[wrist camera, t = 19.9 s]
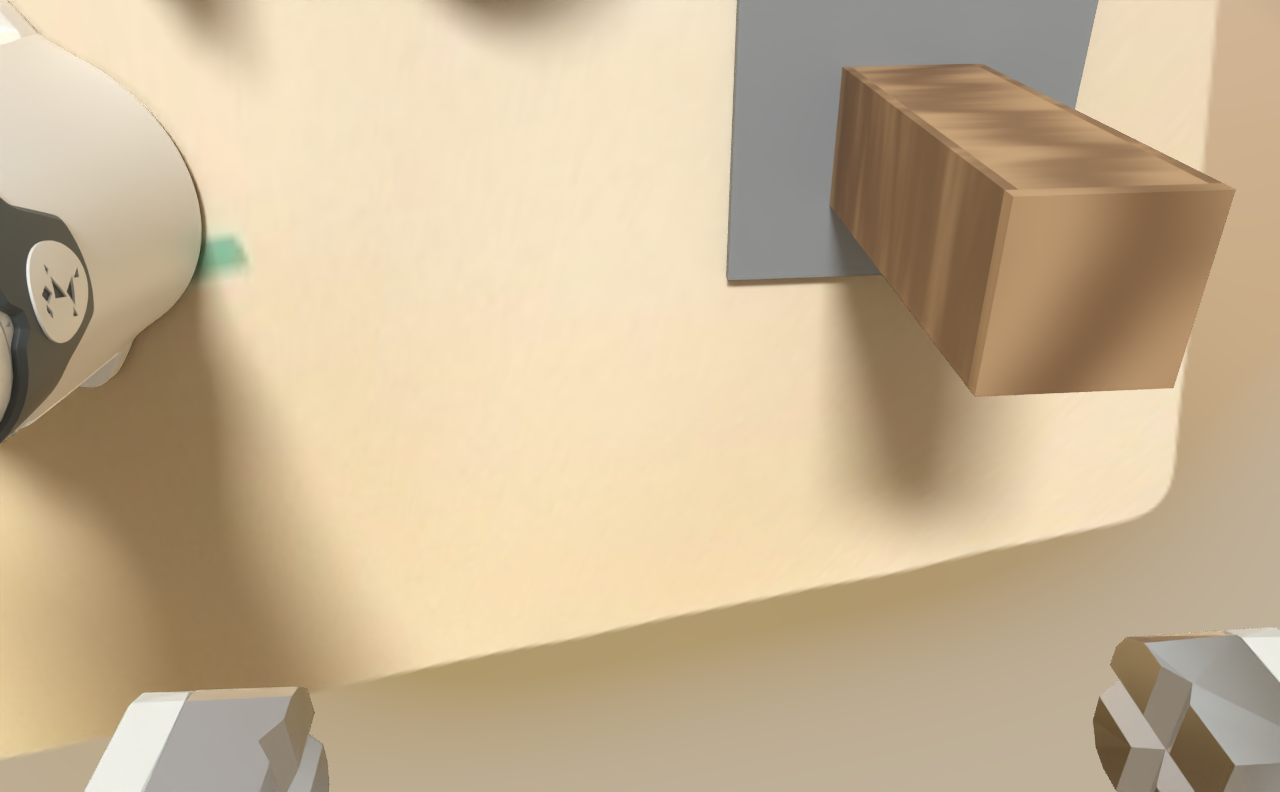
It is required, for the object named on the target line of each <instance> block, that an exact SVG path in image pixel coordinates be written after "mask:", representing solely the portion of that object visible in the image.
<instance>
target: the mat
mask: <svg viewBox="0 0 1280 792" xmlns="http://www.w3.org/2000/svg"><path fill="white" fill-rule="evenodd" d="M1097 4H1098V0H737V16H736V41H735V67H734V92H733V118H732V143H731V169H730V194H729V220H728V245H727V271H726V276H727V279H728V280H751V279H779V278H807V277H835V276H863V275H882V274H881V272H880V271H879V270H878V268H877V267H876V266H875V264H874V263H873V262H872V260H871V259H870V258H869V256H868V255H867V254H866V252H865V251H864V250H863V249H862V247H861V246H860V245H859V243H858V242H857V241H856V239H855V238H854V237H853V235H852V234H851V233H850V231H849V230H848V229H847V227H846V226H845V225H844V223H843V222H842V221H841V219H840V218H839V217H838V216H837V214H836V213H835V212H834V210H833V209H832V208H831V206H830V205H829V204H830V194H831V183H832V172H833V162H834V151H835V141H836V130H837V119H838V109H839V98H840V87H841V77H842V67H857V66H899V65H940V64H984V65H986V66H988V67H990V68H992V69H994V70H996V71H998V72H1000V73H1002V74H1004V75H1006V76H1008V77H1010V78H1012V79H1014V80H1016V81H1018V82H1020V83H1022V84H1024V85H1026V86H1028V87H1030V88H1032V89H1034V90H1036V91H1038V92H1040V93H1042V94H1044V95H1046V96H1048V97H1050V98H1052V99H1054V100H1056V101H1058V102H1060V103H1062V104H1064V105H1066V106H1068V107H1070V108H1072V109H1074V110H1075V105H1076V101H1077V96H1078V92H1079V87H1080V82H1081V78H1082V73H1083V69H1084V64H1085V59H1086V55H1087V50H1088V46H1089V41H1090V36H1091V32H1092V27H1093V23H1094V18H1095V14H1096V9H1097Z"/></svg>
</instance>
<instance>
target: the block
mask: <svg viewBox="0 0 1280 792" xmlns="http://www.w3.org/2000/svg"><path fill="white" fill-rule="evenodd" d="M1235 190H1236V189H1234V188H1232V187H1230V186H1228V185H1225V184H1223V183H1221V182H1219V181H1217V180H1215V179H1213V178H1211V177H1209V176H1207V175H1205V174H1203V173H1201V172H1199V171H1197V170H1195V169H1193V168H1191V167H1189V166H1187V165H1185V164H1183V163H1181V162H1179V161H1177V160H1175V159H1173V158H1171V157H1169V156H1167V155H1165V154H1163V153H1161V152H1159V151H1157V150H1155V149H1153V148H1151V147H1149V146H1147V145H1145V144H1143V143H1141V142H1139V141H1137V140H1135V139H1133V138H1131V137H1129V136H1127V135H1125V134H1123V133H1121V132H1119V131H1117V130H1115V129H1113V128H1111V127H1109V126H1107V125H1105V124H1103V123H1101V122H1099V121H1097V120H1095V119H1093V118H1091V117H1089V116H1087V115H1085V114H1083V113H1081V112H1079V111H1076V110H1074V109H1072V108H1070V107H1068V106H1066V105H1064V104H1062V103H1060V102H1058V101H1056V100H1054V99H1052V98H1050V97H1048V96H1046V95H1044V94H1042V93H1040V92H1038V91H1036V90H1034V89H1032V88H1030V87H1028V86H1026V85H1024V84H1022V83H1020V82H1018V81H1016V80H1014V79H1012V78H1010V77H1008V76H1006V75H1004V74H1002V73H1000V72H998V71H996V70H994V69H992V68H990V67H988V66H986V65H984V64H940V65H899V66H857V67H842V77H841V87H840V98H839V109H838V119H837V130H836V141H835V151H834V162H833V172H832V183H831V194H830V204H829V205H830V206H831V208H832V209H833V210H834V212H835V213H836V214H837V216H838V217H839V218H840V219H841V221H842V222H843V223H844V225H845V226H846V227H847V229H848V230H849V231H850V233H851V234H852V235H853V237H854V238H855V239H856V241H857V242H858V243H859V245H860V246H861V247H862V249H863V250H864V251H865V252H866V254H867V255H868V256H869V258H870V259H871V260H872V262H873V263H874V264H875V266H876V267H877V268H878V270H879V271H880V272H881V274H882V275H883V276H884V278H885V279H886V280H887V282H888V283H889V284H890V286H891V287H892V288H893V289H894V291H895V292H896V293H897V295H898V296H899V297H900V299H901V300H902V301H903V303H904V304H905V305H906V307H907V308H908V309H909V311H910V312H911V313H912V315H913V316H914V317H915V319H916V320H917V321H918V323H919V324H920V325H921V326H922V328H923V329H924V330H925V332H926V333H927V334H928V336H929V337H930V338H931V340H932V341H933V342H934V344H935V345H936V346H937V348H938V349H939V350H940V352H941V353H942V354H943V356H944V357H945V358H946V359H947V361H948V362H949V363H950V365H951V366H952V367H953V369H954V370H955V371H956V373H957V374H958V375H959V377H960V378H961V379H962V381H963V382H964V383H965V385H966V386H967V387H968V389H969V390H970V391H971V393H972V394H973V395H974V396H975V397H977V396H1000V395H1023V394H1046V393H1069V392H1092V391H1115V390H1138V389H1161V388H1174V384H1175V381H1176V378H1177V375H1178V372H1179V368H1180V365H1181V362H1182V359H1183V356H1184V353H1185V349H1186V346H1187V343H1188V340H1189V337H1190V333H1191V330H1192V327H1193V324H1194V321H1195V318H1196V314H1197V311H1198V308H1199V305H1200V302H1201V298H1202V295H1203V292H1204V289H1205V286H1206V283H1207V279H1208V276H1209V273H1210V270H1211V267H1212V264H1213V260H1214V257H1215V254H1216V251H1217V248H1218V245H1219V241H1220V238H1221V235H1222V232H1223V229H1224V225H1225V222H1226V219H1227V216H1228V213H1229V209H1230V206H1231V203H1232V200H1233V197H1234V193H1235Z"/></svg>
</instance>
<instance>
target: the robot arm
mask: <svg viewBox="0 0 1280 792" xmlns="http://www.w3.org/2000/svg"><path fill="white" fill-rule="evenodd" d="M201 231H202V228H201V215H200V208H199V203H198V198H197V194H196V191H195V188H194V184H193V182H192V179H191V176H190V174H189V171H188V169H187V167H186V165H185V162H184V161H183V159H182V157H181V155H180V153H179V151H178V150H177V148H176V146H175V145H174V143H173V141H172V140H171V138H170V137H169V136H168V134H167V133H166V131H165V130H164V129H163V127H162V126H161V125H160V124H159V122H158V121H157V120H156V119H155V117H154V116H153V115H152V114H151V113H150V112H149V111H148V110H147V109H146V108H145V107H144V106H143V105H142V104H141V103H140V102H139V101H138V100H137V99H136V98H135V97H134V96H133V95H132V94H131V93H130V92H128V91H127V90H126V89H125V88H124V87H122V86H121V85H120V84H119V83H117V82H116V81H115V80H114V79H112V78H111V77H109V76H108V75H106V74H105V73H103V72H102V71H100V70H99V69H97V68H96V67H94V66H92V65H91V64H89V63H87V62H85V61H83V60H82V59H80V58H78V57H76V56H74V55H72V54H71V53H69V52H67V51H65V50H63V49H61V48H60V47H58V46H56V45H55V44H53V43H51V42H50V41H48V40H47V39H46V38H44V37H43V36H41V35H40V34H39V33H38V32H37V31H36V30H35V29H34V28H33V27H32V26H31V25H30V24H29V23H28V22H27V21H26V20H25V19H24V17H23V16H22V15H21V14H20V13H19V12H18V11H17V10H16V9H15V8H14V7H13V6H12V5H11V4H10V3H9V2H8V1H7V0H0V443H4V442H5V441H6V439H7V438H8V437H10V436H11V435H12V436H13V435H14V434H16V433H17V432H18V431H19V430H20V429H21V428H24V427H27V426H29V425H30V424H32V423H33V422H35V421H36V420H37V419H39V418H40V417H41V416H42V415H44V414H45V413H46V412H47V411H49V410H50V409H51V408H52V407H54V406H55V405H56V404H57V403H59V402H60V401H61V400H62V399H64V398H65V397H66V396H67V395H69V394H70V393H71V392H72V391H74V390H75V389H76V388H77V387H98V386H101V385H103V384H104V383H106V382H107V381H108V380H110V379H111V378H112V377H113V376H115V375H116V374H117V372H118V371H119V370H120V368H121V367H122V365H123V363H124V361H125V359H126V357H127V355H128V352H129V350H130V347H131V345H132V342H133V340H134V339H135V337H136V336H137V335H138V334H139V333H140V332H141V331H143V330H144V329H145V328H146V327H147V326H149V325H150V324H152V323H153V322H154V321H156V320H157V319H158V318H160V317H161V316H162V315H164V314H165V313H166V312H167V311H168V310H169V309H170V308H171V307H172V306H173V305H174V304H175V303H176V302H177V301H178V299H179V298H180V297H181V296H182V294H183V293H184V291H185V290H186V288H187V286H188V284H189V282H190V280H191V278H192V276H193V274H194V271H195V269H196V265H197V262H198V258H199V253H200V247H201ZM1110 666H1111V667H1112V669H1113V671H1114V672H1115V674H1116V675H1117V676H1118V678H1119V680H1118V681H1117V682H1116V683H1115V684H1113V685H1112V686H1111V687H1110V688H1109V689H1108V690H1106V691H1105V692H1104V693H1103V694H1102V695H1100V696H1099V700H1098V704H1097V707H1096V711H1095V716H1094V718H1093V725H1094V734H1095V745H1096V749H1097V752H1098V755H1099V758H1100V760H1101V763H1102V766H1103V769H1104V770H1105V772H1106V774H1107V776H1108V777H1109V779H1110V781H1111V783H1112V784H1113V786H1114V788H1115V789H1116V791H1117V792H1280V630H1279V629H1277V628H1275V627H1269V628H1255V629H1239V630H1226V631H1222V632H1219V631H1206V632H1191V633H1178V634H1163V635H1148V636H1135V637H1126V638H1125V639H1124V640H1123V641H1122V642H1121V643H1120V644H1119V645H1117V647H1116V649H1115V652H1114V655H1113V657H1112V660H1111V663H1110ZM314 713H315V712H314V709H313V706H312V702H311V699H310V696H309V693H308V690H307V689H306V688H303V687H299V686H296V687H266V688H237V689H207V690H196V691H175V692H146V693H142V694H141V695H140V696H139V697H138V698H137V699H135V700H134V701H133V702H132V703H131V704H130V705H129V706H128V708H127V710H126V712H125V714H124V715H123V717H122V719H121V721H120V723H119V725H118V727H117V729H116V731H115V733H114V735H113V736H112V738H111V740H110V742H109V744H108V746H107V748H106V750H105V752H104V754H103V756H102V758H101V760H100V761H99V763H98V765H97V767H96V769H95V771H94V773H93V775H92V777H91V779H90V781H89V783H88V784H87V786H86V788H85V790H84V792H328V791H329V777H328V765H327V759H326V755H325V751H324V747H323V744H322V743H320V742H319V741H318V740H317V739H315V738H314V737H312V736H311V735H310V734H309V731H310V727H311V723H312V720H313V716H314Z"/></svg>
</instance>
